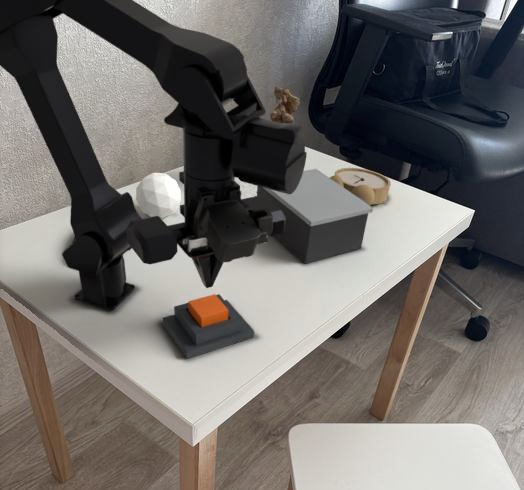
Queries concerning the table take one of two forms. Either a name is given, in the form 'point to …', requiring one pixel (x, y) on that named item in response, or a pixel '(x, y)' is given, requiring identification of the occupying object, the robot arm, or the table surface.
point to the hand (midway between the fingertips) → (207, 286)
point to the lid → (321, 200)
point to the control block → (206, 331)
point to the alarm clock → (363, 184)
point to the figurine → (284, 106)
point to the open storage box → (318, 234)
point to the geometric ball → (158, 195)
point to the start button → (208, 310)
